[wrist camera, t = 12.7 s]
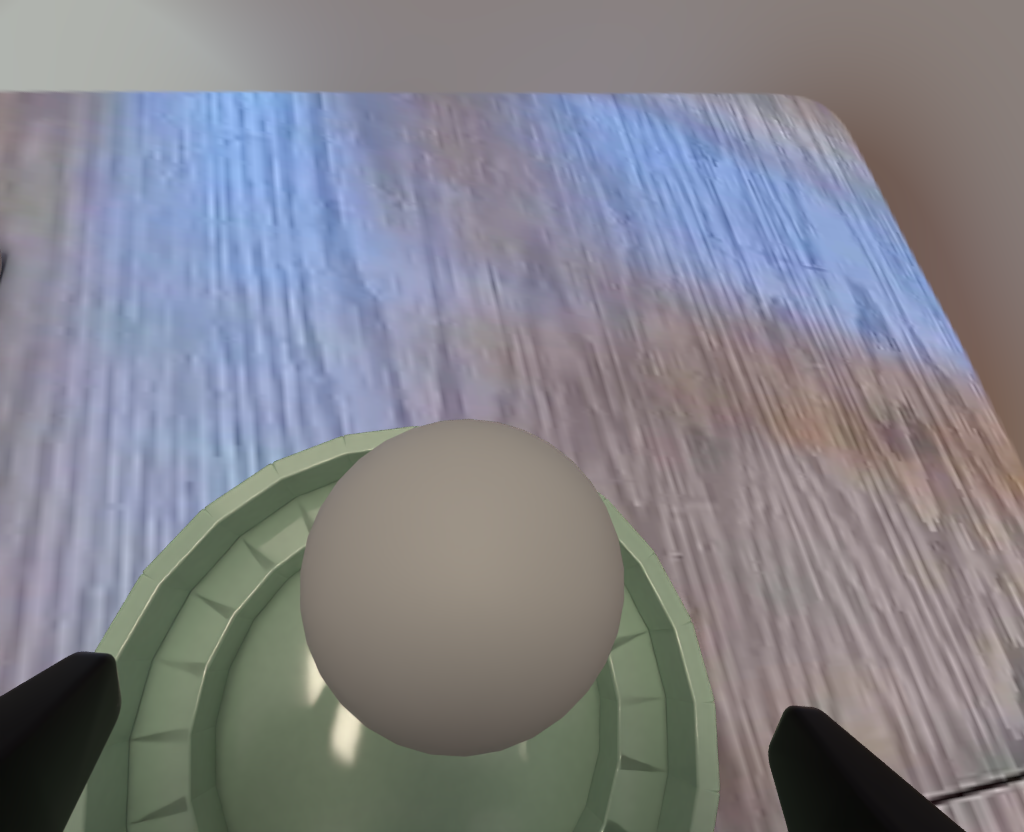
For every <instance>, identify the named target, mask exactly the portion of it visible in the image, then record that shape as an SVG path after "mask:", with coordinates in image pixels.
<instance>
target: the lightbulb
mask: <svg viewBox="0 0 1024 832" xmlns="http://www.w3.org/2000/svg"><path fill="white" fill-rule="evenodd" d="M623 603H624V566H623V561H622V555H621V550H620V545H619V539H618V536H617V533H616V531H615V528H614V525H613V523H612V520H611V518H610V515H609V513H608V510H607V507H606V506H605V504H604V502H603V501H602V499H601V497H600V496H599V494H598V492H597V491H596V489H595V488H594V486H593V484H592V483H591V481H590V480H589V479H588V478H587V477H586V476H585V475H584V474H583V472H582V471H581V470H580V469H579V468H578V467H577V466H576V465H575V464H574V462H573V461H572V460H570V459H569V458H568V457H567V456H565V455H564V454H563V453H561V452H560V451H559V450H558V449H556V448H555V447H554V446H552V445H551V444H550V443H548V442H546V441H544V440H542V439H540V438H538V437H536V436H535V435H533V434H531V433H529V432H527V431H525V430H522V429H518V428H515V427H512V426H509V425H505V424H502V423H499V422H492V421H483V420H474V419H462V420H448V421H439V422H435V423H432V424H428V425H424V426H420V427H416V428H413V429H410V430H408V431H406V432H404V433H401V434H399V435H397V436H395V437H393V438H391V439H388V440H386V441H384V442H383V443H381V444H380V445H378V446H377V447H376V448H374V449H373V450H371V451H370V452H369V453H367V454H366V455H364V456H363V457H362V458H360V459H359V460H358V461H357V462H356V463H355V464H354V465H353V466H352V467H351V468H350V469H349V470H348V471H347V472H346V473H345V474H344V475H343V476H342V477H341V478H340V479H339V481H338V482H337V483H336V485H335V486H334V488H333V489H332V491H331V492H330V494H329V495H328V497H327V498H326V500H325V501H324V503H323V504H322V506H321V507H320V509H319V511H318V514H317V516H316V519H315V521H314V523H313V526H312V528H311V531H310V533H309V535H308V538H307V542H306V547H305V551H304V556H303V561H302V566H301V571H300V611H301V616H302V622H303V627H304V632H305V637H306V642H307V645H308V647H309V650H310V652H311V654H312V657H313V659H314V661H315V664H316V666H317V669H318V671H319V673H320V675H321V677H322V678H323V680H324V681H325V683H326V684H327V685H328V687H329V688H330V690H331V691H332V692H333V694H334V695H335V697H336V698H337V700H338V701H339V702H340V704H341V705H342V706H343V707H345V708H346V709H347V710H348V711H349V712H350V713H351V714H352V715H353V716H354V717H356V718H357V719H358V720H359V721H360V722H361V723H362V724H363V725H364V726H365V727H367V728H368V729H370V730H372V731H374V732H375V733H377V734H379V735H381V736H383V737H384V738H386V739H388V740H390V741H391V742H393V743H395V744H397V745H400V746H403V747H407V748H410V749H413V750H417V751H420V752H424V753H427V754H430V755H445V756H462V757H467V756H473V755H479V754H485V753H491V752H498V751H502V750H504V749H507V748H509V747H512V746H514V745H517V744H519V743H521V742H524V741H526V740H529V739H531V738H533V737H535V736H536V735H538V734H539V733H541V732H542V731H544V730H545V729H547V728H548V727H550V726H551V725H552V724H554V723H555V722H557V721H558V720H560V719H561V718H563V717H564V716H565V715H566V714H567V713H568V712H569V711H570V710H571V709H572V708H573V706H574V705H575V704H576V703H577V702H578V701H579V700H580V699H581V698H582V697H583V696H584V695H585V694H586V693H587V692H588V691H589V689H590V687H591V686H592V684H593V683H594V681H595V680H596V678H597V676H598V675H599V673H600V672H601V670H602V669H603V667H604V665H605V664H606V662H607V659H608V657H609V654H610V652H611V649H612V647H613V644H614V641H615V639H616V636H617V634H618V630H619V625H620V619H621V614H622V609H623Z"/></svg>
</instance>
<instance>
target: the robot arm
mask: <svg viewBox="0 0 1024 832" xmlns="http://www.w3.org/2000/svg"><path fill="white" fill-rule="evenodd" d="M121 703H122V699H121V691H120V685H119V678H118V671H117V664H116V660H115V658H114V657H113V656H112V655H111V654H108V653H97V652H77V653H74V654H72V655H70V656H68V657H66V658H64V659H63V660H61V661H59V662H58V663H56V664H54V665H53V666H51V667H49V668H48V669H46V670H44V671H43V672H41V673H39V674H37V675H36V676H34V677H32V678H31V679H29V680H27V681H26V682H24V683H22V684H21V685H19V686H17V687H16V688H14V689H12V690H11V691H9V692H7V693H6V694H4V695H2V696H0V832H63V831H64V829H65V827H66V825H67V823H68V821H69V819H70V816H71V814H72V812H73V810H74V808H75V806H76V804H77V802H78V800H79V798H80V796H81V794H82V792H83V790H84V788H85V786H86V784H87V782H88V780H89V777H90V775H91V773H92V771H93V769H94V767H95V765H96V763H97V761H98V759H99V757H100V755H101V753H102V751H103V749H104V747H105V745H106V743H107V740H108V738H109V736H110V734H111V732H112V730H113V728H114V726H115V724H116V722H117V720H118V717H119V714H120V710H121ZM768 757H769V764H770V768H771V772H772V775H773V779H774V782H775V786H776V789H777V793H778V796H779V800H780V803H781V807H782V810H783V814H784V817H785V821H786V824H787V828H788V831H789V832H966V831H964V830H963V829H962V828H961V827H960V826H958V825H957V824H956V823H955V822H954V821H952V820H951V819H950V818H949V817H948V816H947V815H945V814H944V813H943V812H942V811H941V810H939V809H938V808H937V807H936V806H935V805H933V804H932V803H931V802H930V801H929V800H928V799H926V798H925V797H924V796H923V795H922V794H920V793H919V792H918V791H917V790H916V789H914V788H913V787H912V786H911V785H910V784H909V783H907V782H906V781H905V780H904V779H903V778H901V777H900V776H899V775H898V774H897V773H895V772H894V771H893V770H892V769H891V768H889V767H888V766H887V765H886V764H885V763H884V762H882V761H881V760H880V759H879V758H878V757H876V756H875V755H874V754H873V753H872V752H870V751H869V750H868V749H867V748H866V747H865V746H863V745H862V744H861V743H860V742H859V741H857V740H856V739H855V738H854V737H853V736H851V735H850V734H849V733H848V732H847V731H846V730H844V729H843V728H842V727H841V726H840V725H838V724H837V723H836V722H835V721H834V720H832V719H831V718H830V717H829V716H828V715H827V714H825V713H824V712H823V711H821V710H819V709H817V708H814V707H803V706H789V707H788V708H787V709H785V711H784V712H783V715H782V717H781V719H780V722H779V724H778V726H777V728H776V731H775V733H774V735H773V738H772V740H771V742H770V745H769V751H768Z"/></svg>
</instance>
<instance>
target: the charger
mask: <svg viewBox="0 0 1024 832" xmlns="http://www.w3.org/2000/svg"><path fill="white" fill-rule="evenodd" d="M1 267H2V261H1V251H0V275H1Z"/></svg>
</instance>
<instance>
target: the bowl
mask: <svg viewBox="0 0 1024 832" xmlns="http://www.w3.org/2000/svg"><path fill="white" fill-rule="evenodd" d="M416 427H420V426H415V427H414V426H411V427H403V428H396V429H388V430H380V431H372V432H364V433H357V434H349V435H344V437H343V436H340V437H338V438H335V439H333V440H330V441H327V442H325V443H322V444H319V445H317V446H314V447H311V448H309V449H306V450H303V451H301V452H298V453H296V454H293V455H290V456H288V457H285V458H282V459H280V460H277V461H274V462H273V464H269V465H267V466H266V467H264V468H263V469H261V470H260V471H258V472H257V473H255V474H254V475H252V476H251V477H249V478H248V479H246V480H245V481H243V482H242V483H240V484H239V485H237V486H236V487H234V488H233V489H231V490H230V491H228V492H227V493H225V494H224V495H222V496H221V497H219V498H218V499H216V500H215V501H213V502H212V503H210V504H209V505H207V506H206V507H205V509H202V510H201V511H200V512H199V513H198V514H197V515H196V516H195V517H194V518H193V519H192V520H191V521H190V522H189V524H188V525H187V526H186V527H185V528H184V529H183V530H182V531H181V532H180V533H179V534H178V535H177V536H176V537H175V538H174V539H173V540H172V541H171V542H170V543H169V545H168V546H167V547H166V548H165V549H164V550H163V551H162V552H161V553H160V554H159V555H158V556H157V557H156V558H155V559H154V560H153V561H152V562H151V563H150V565H149V566H148V567H147V568H146V569H145V570H144V571H143V574H141V575H140V577H139V578H138V580H137V582H136V583H135V585H134V587H133V588H132V590H131V592H130V593H129V595H128V597H127V598H126V600H125V602H124V603H123V605H122V607H121V608H120V610H119V612H118V613H117V615H116V617H115V618H114V620H113V622H112V623H111V625H110V627H109V628H108V630H107V632H106V633H105V635H104V637H103V639H102V640H101V642H100V644H99V645H98V647H97V649H96V650H95V652H97V653H108V654H111V655H112V656H113V657H114V658H115V660H116V664H117V671H118V678H119V685H120V691H121V699H122V703H121V710H120V714H119V717H118V720H117V722H116V724H115V726H114V728H113V730H112V732H111V734H110V736H109V738H108V740H107V743H106V745H105V747H104V749H103V751H102V753H101V755H100V757H99V759H98V761H97V763H96V765H95V767H94V769H93V771H92V773H91V775H90V777H89V780H88V782H87V784H86V786H85V788H84V790H83V792H82V794H81V796H80V798H79V800H78V802H77V804H76V806H75V808H74V810H73V812H72V814H71V816H70V819H69V821H68V823H67V825H66V827H65V829H64V831H63V832H714V827H715V821H716V815H717V809H718V803H719V797H720V795H719V793H718V792H719V791H720V781H719V763H718V746H717V728H716V710H715V703H714V702H713V701H714V697H713V693H712V689H711V686H710V682H709V679H708V675H707V672H706V668H705V665H704V661H703V658H702V654H701V650H700V647H699V643H698V640H697V636H696V633H695V629H694V626H693V623H692V622H691V618H690V616H689V614H688V612H687V610H686V609H685V607H684V605H683V603H682V601H681V599H680V598H679V596H678V594H677V592H676V590H675V588H674V587H673V585H672V583H671V581H670V579H669V577H668V576H667V574H666V572H665V570H664V568H663V566H662V565H661V563H660V561H659V559H658V557H657V555H656V554H655V553H654V551H653V549H652V548H651V547H650V546H649V545H648V544H647V543H646V542H645V541H644V539H643V538H642V537H641V536H640V535H639V534H638V533H637V532H636V530H635V529H634V528H633V527H632V526H631V525H630V524H629V523H628V522H627V520H626V519H625V518H624V517H623V516H622V515H621V514H620V513H619V511H618V510H617V509H616V508H615V507H614V506H613V505H612V504H611V503H610V501H609V500H608V499H605V497H604V496H603V495H601V494H600V493H598V494H599V496H600V497H601V499H602V501H603V502H604V504H605V506H606V507H607V510H608V513H609V515H610V518H611V520H612V523H613V525H614V528H615V531H616V533H617V536H618V539H619V545H620V550H621V555H622V561H623V566H624V603H623V609H622V614H621V619H620V625H619V630H618V634H617V636H616V639H615V641H614V644H613V647H612V649H611V652H610V654H609V657H608V659H607V662H606V664H605V665H604V667H603V669H602V670H601V672H600V673H599V675H598V676H597V678H596V680H595V681H594V683H593V684H592V686H591V687H590V689H589V691H588V692H587V693H586V694H585V695H584V696H583V697H582V698H581V699H580V700H579V701H578V702H577V703H576V704H575V705H574V706H573V708H572V709H571V710H570V711H569V712H568V713H567V714H566V715H565V716H564V717H563V718H561V719H560V720H558V721H557V722H555V723H554V724H552V725H551V726H550V727H548V728H547V729H545V730H544V731H542V732H541V733H539V734H538V735H536V736H535V737H533V738H531V739H529V740H526V741H524V742H521V743H519V744H517V745H514V746H512V747H509V748H507V749H504V750H502V751H498V752H491V753H485V754H479V755H473V756H467V757H462V756H445V755H430V754H427V753H424V752H420V751H417V750H413V749H410V748H407V747H403V746H400V745H397V744H395V743H393V742H391V741H390V740H388V739H386V738H384V737H383V736H381V735H379V734H377V733H375V732H374V731H372V730H370V729H368V728H367V727H365V726H364V725H363V724H362V723H361V722H360V721H359V720H358V719H357V718H356V717H354V716H353V715H352V714H351V713H350V712H349V711H348V710H347V709H346V708H345V707H343V706H342V705H341V704H340V702H339V701H338V700H337V698H336V697H335V695H334V694H333V692H332V691H331V690H330V688H329V687H328V685H327V684H326V683H325V681H324V680H323V678H322V677H321V675H320V673H319V671H318V669H317V666H316V664H315V661H314V659H313V657H312V654H311V652H310V650H309V647H308V645H307V642H306V637H305V632H304V627H303V622H302V616H301V611H300V571H301V566H302V561H303V556H304V551H305V547H306V542H307V538H308V535H309V533H310V531H311V528H312V526H313V523H314V521H315V519H316V516H317V514H318V511H319V509H320V507H321V506H322V504H323V503H324V501H325V500H326V498H327V497H328V495H329V494H330V492H331V491H332V489H333V488H334V486H335V485H336V483H337V482H338V481H339V479H340V478H341V477H342V476H343V475H344V474H345V473H346V472H347V471H348V470H349V469H350V468H351V467H352V466H353V465H354V464H355V463H356V462H357V461H358V460H359V459H360V458H362V457H363V456H364V455H366V454H367V453H369V452H370V451H371V450H373V449H374V448H376V447H377V446H378V445H380V444H381V443H383V442H384V441H386V440H388V439H391V438H393V437H395V436H397V435H399V434H401V433H404V432H406V431H408V430H410V429H413V428H416Z"/></svg>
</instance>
